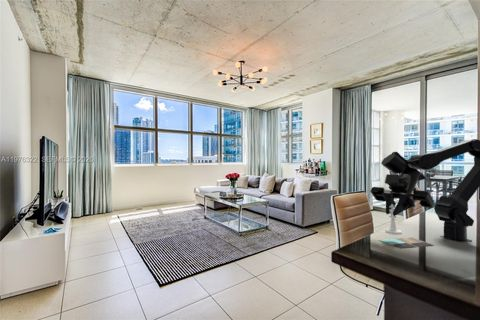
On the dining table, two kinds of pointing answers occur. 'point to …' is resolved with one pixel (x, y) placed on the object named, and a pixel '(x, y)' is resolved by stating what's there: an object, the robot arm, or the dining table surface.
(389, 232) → the chess piece
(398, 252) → the dining table surface
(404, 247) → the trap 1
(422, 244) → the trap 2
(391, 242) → the pad
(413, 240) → the walnut board
